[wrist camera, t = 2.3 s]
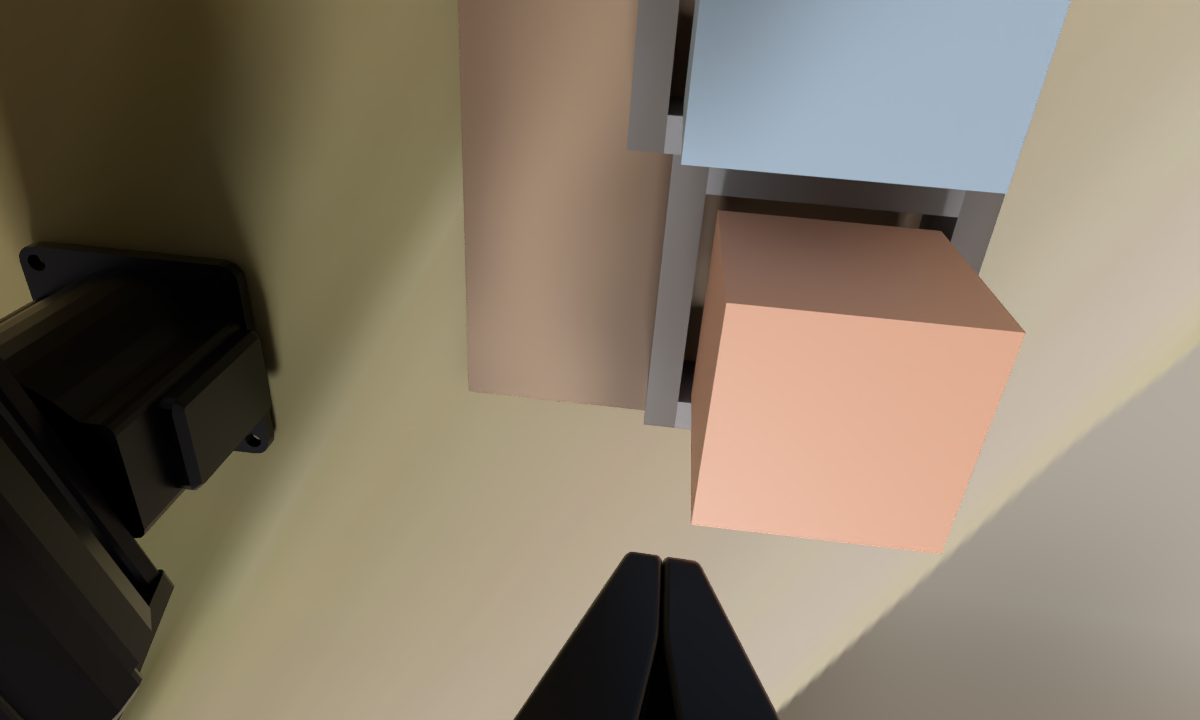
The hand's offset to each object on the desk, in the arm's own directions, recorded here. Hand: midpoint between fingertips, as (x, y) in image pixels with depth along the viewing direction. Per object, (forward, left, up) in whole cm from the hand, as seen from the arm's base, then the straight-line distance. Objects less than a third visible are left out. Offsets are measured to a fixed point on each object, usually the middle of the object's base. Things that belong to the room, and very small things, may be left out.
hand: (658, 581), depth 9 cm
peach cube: (+3, -1, -10) cm, 10 cm away
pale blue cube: (+2, +6, -10) cm, 12 cm away
